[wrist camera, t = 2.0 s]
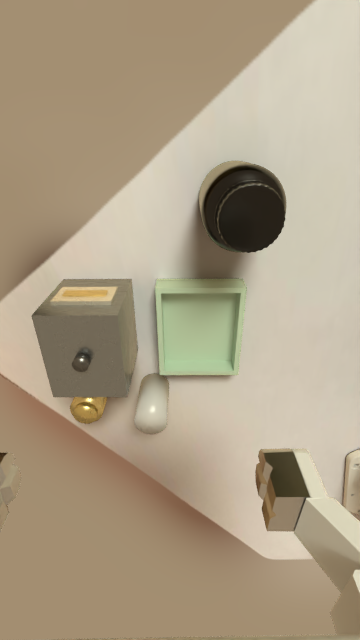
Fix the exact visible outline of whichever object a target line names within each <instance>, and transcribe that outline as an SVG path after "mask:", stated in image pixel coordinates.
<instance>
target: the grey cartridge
mask: <svg viewBox="0 0 360 640" xmlns="http://www.w3.org/2000/svg"><path fill="white" fill-rule="evenodd" d="M168 397H169V382H168V380H167V378H166V377H164V376H163V375H160V374H149V375H147V376H145V377H144V378H143V379H142V381H141V386H140V392H139V397H138V403H137V408H136V414H135V420H134V424H135V426H136V428H137V429H138V430H140V431H141V432H143V433H147V434H156V433H159V432H161V431H163V430H164V429H165V428H166V425H167V413H168Z"/></svg>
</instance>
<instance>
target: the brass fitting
mask: <svg viewBox="0 0 360 640" xmlns="http://www.w3.org/2000/svg"><path fill="white" fill-rule="evenodd" d="M106 401H107V397H74V399H73V402H72V404H71V406H70V411H71V413H72V415H73V416H74V418H75V419H76V420H77V421H79V422H81V423H85V424H88V423H92V422H94V421H97V420H98V419H100V418H101V416H102V414H103V411H104V407H105V404H106Z"/></svg>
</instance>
